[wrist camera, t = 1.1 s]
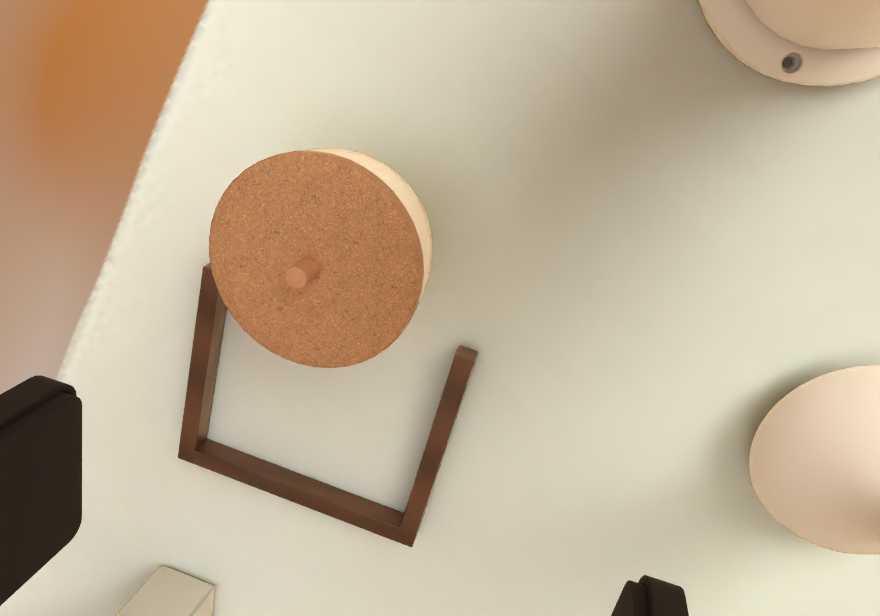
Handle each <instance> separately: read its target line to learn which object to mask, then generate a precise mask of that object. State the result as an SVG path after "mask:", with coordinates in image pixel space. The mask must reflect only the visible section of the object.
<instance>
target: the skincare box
mask: <svg viewBox="0 0 880 616" xmlns="http://www.w3.org/2000/svg"><path fill="white" fill-rule="evenodd" d="M214 594H215V586H214V585H211V584H208V583H206V582H203V581H201V580H198V579H196V578H194V577H191V576H189V575H186V574H184V573H181V572H179V571H176V570H173V569H170V568H168V567H165V566H160V567H159V568H158V569H157V571H156V572H155V573H154V574H153V575H152V576H151V577H150V578H149V579H148V581H147V582H146V583H145V584H144V585H143V586H142V587H141V588H140V589H139V591H138V592H137V593H136V594H135V595H134V596H133V597H132V598H131V599H130V601H129V602H128V603H127V604H126V605H125V606H124V607H123V608H122V609H121V611H120V612H119V613H118V614H117V615H116V616H212V613H213V603H214Z"/></svg>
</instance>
